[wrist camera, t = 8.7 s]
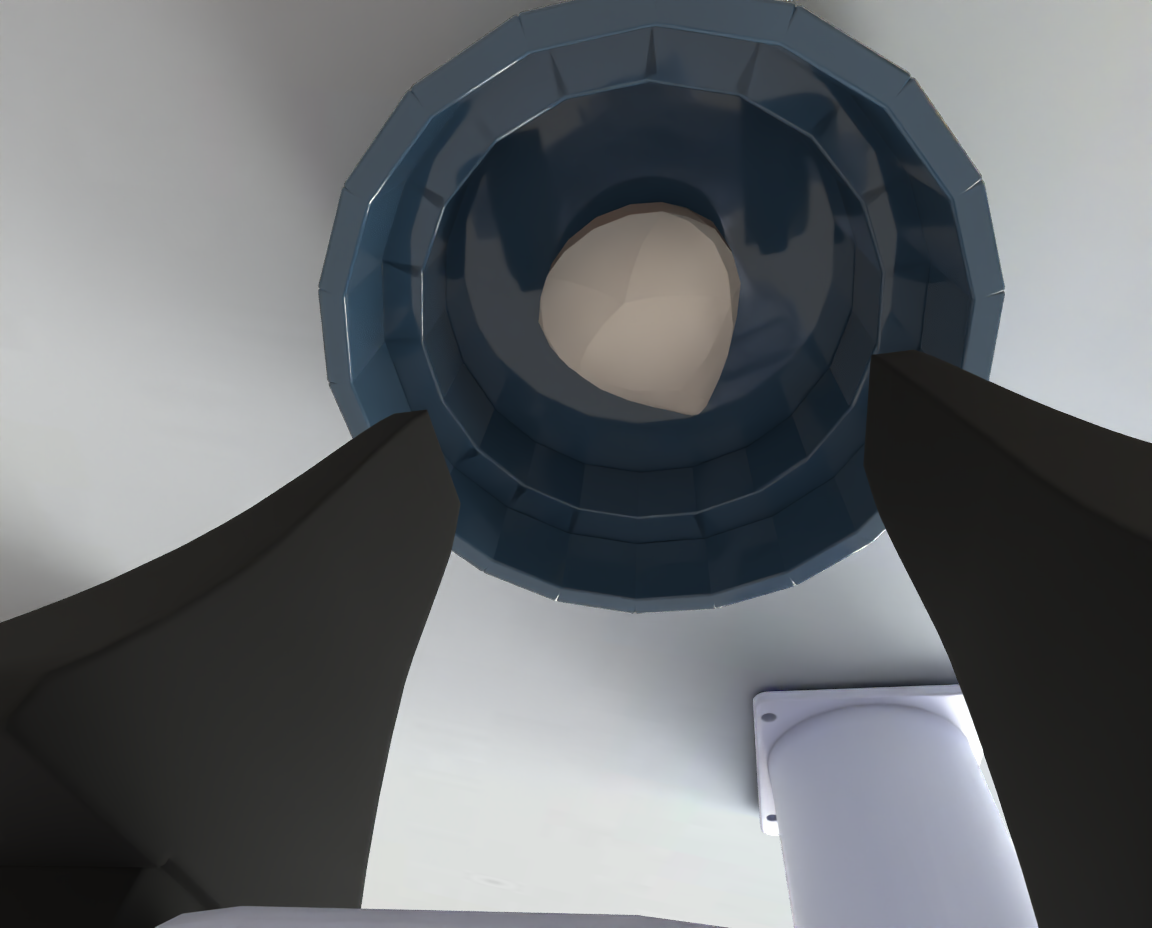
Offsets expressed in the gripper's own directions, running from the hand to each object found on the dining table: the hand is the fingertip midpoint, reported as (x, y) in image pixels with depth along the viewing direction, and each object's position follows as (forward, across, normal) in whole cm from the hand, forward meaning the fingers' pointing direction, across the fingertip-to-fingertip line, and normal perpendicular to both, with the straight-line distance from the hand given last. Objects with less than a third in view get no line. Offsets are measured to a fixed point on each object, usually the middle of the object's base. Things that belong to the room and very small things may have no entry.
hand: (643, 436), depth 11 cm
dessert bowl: (+6, 0, 0) cm, 6 cm away
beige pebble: (+6, 0, 0) cm, 6 cm away
